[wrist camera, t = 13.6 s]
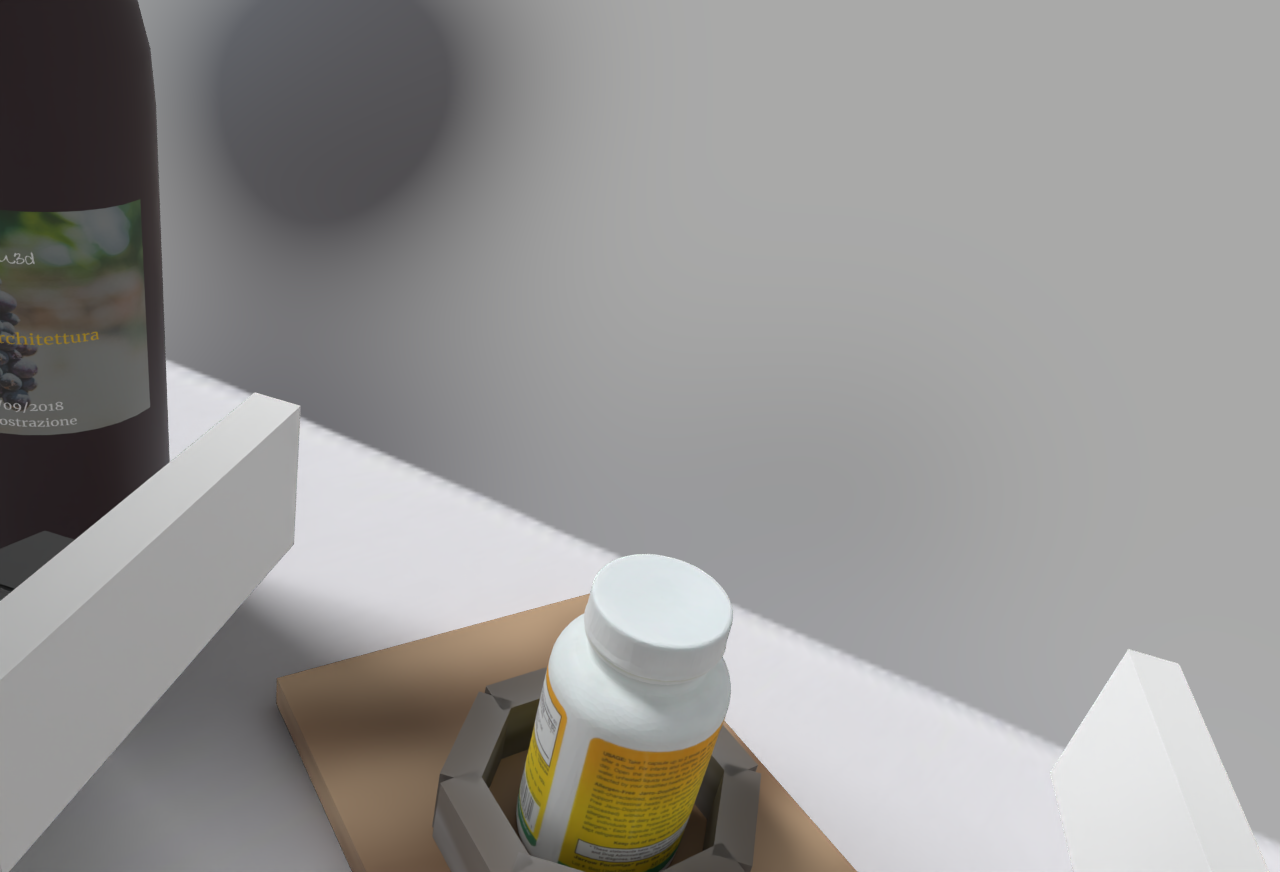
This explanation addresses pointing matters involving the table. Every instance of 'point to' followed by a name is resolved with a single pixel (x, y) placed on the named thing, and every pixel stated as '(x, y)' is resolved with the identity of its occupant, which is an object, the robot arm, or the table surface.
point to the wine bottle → (78, 265)
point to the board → (420, 724)
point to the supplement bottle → (627, 719)
